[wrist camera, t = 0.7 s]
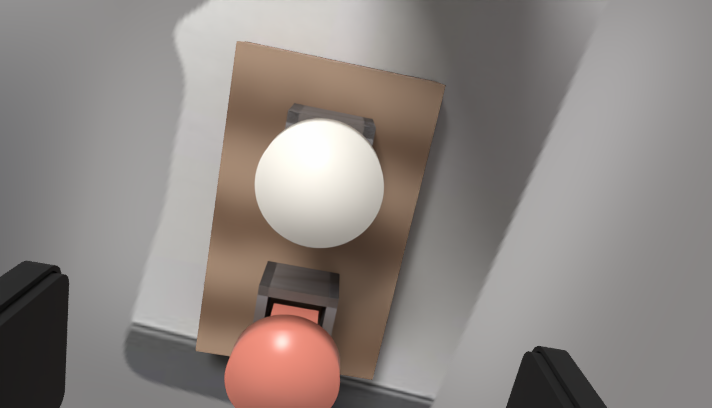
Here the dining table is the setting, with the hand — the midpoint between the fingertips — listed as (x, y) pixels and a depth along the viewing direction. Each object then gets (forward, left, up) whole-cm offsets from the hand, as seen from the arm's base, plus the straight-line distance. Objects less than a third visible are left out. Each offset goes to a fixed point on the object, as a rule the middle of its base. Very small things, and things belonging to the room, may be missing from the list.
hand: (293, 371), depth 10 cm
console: (+5, 0, -24) cm, 25 cm away
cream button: (0, 0, -18) cm, 18 cm away
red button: (+10, 0, -18) cm, 21 cm away
